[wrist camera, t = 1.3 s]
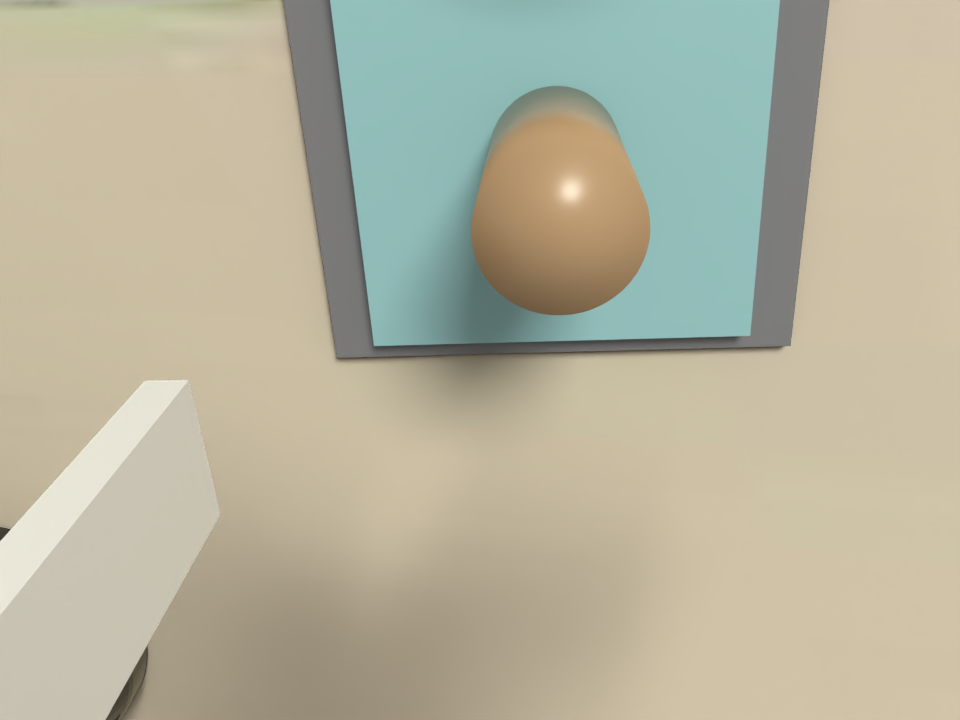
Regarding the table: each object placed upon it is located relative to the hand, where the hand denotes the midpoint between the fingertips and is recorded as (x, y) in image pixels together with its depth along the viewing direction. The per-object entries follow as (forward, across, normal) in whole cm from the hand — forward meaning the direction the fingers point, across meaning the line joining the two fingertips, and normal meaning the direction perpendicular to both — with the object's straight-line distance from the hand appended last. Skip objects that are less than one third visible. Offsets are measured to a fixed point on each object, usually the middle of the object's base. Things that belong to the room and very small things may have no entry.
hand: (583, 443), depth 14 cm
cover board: (+22, 0, 0) cm, 22 cm away
